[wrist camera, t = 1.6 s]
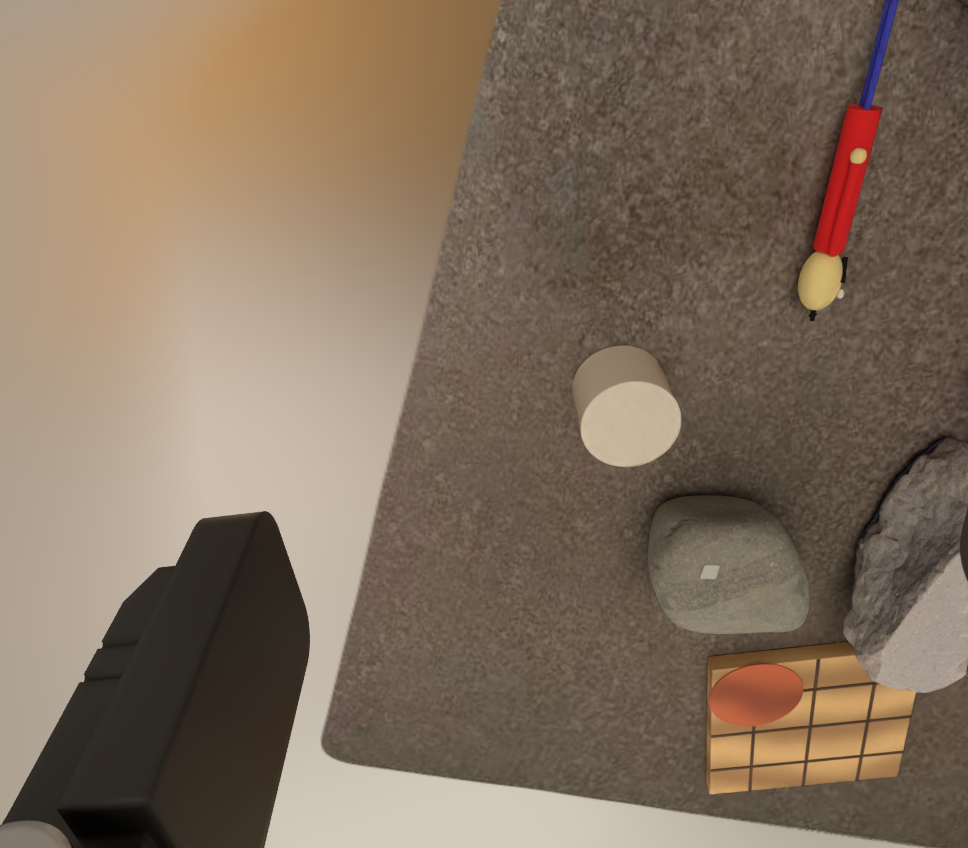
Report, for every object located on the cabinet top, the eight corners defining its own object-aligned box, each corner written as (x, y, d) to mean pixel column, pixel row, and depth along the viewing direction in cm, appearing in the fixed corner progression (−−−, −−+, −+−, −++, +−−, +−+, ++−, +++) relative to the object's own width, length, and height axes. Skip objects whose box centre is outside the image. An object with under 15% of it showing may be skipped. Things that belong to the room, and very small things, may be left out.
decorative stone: (1050, 425, 44) (880, 425, 43) (1144, 501, 38) (949, 502, 38) (956, 611, 52) (811, 613, 51) (1022, 698, 46) (859, 701, 45)
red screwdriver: (919, -27, 32) (828, 311, 40) (863, -28, 32) (784, 308, 40) (941, -24, 30) (840, 333, 38) (882, -25, 30) (794, 330, 38)
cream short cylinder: (567, 351, 41) (576, 388, 37) (663, 338, 41) (681, 375, 37) (575, 431, 43) (584, 472, 40) (665, 419, 43) (681, 460, 40)
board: (704, 654, 53) (709, 669, 52) (918, 631, 52) (927, 646, 51) (703, 780, 60) (707, 795, 59) (890, 762, 60) (898, 777, 58)
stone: (636, 621, 51) (667, 682, 41) (623, 486, 50) (651, 516, 40) (774, 608, 51) (839, 667, 41) (763, 472, 50) (826, 499, 40)
